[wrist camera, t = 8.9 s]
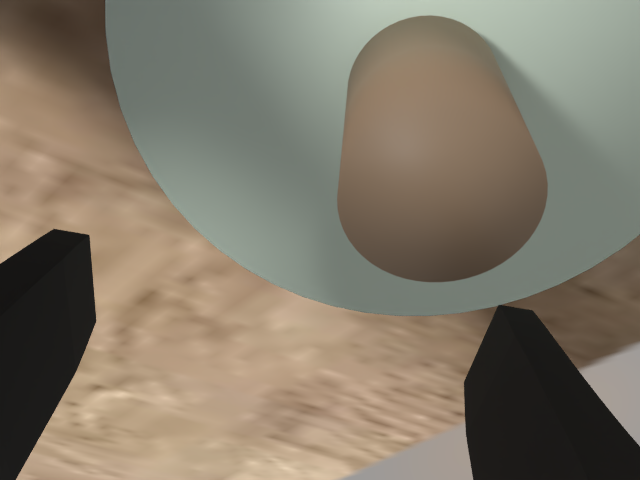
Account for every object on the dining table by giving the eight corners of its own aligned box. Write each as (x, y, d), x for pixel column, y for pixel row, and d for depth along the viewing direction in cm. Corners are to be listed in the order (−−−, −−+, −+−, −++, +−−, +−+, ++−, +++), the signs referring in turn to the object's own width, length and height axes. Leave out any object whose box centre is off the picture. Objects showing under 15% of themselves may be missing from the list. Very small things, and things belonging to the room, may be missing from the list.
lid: (164, 285, 19) (94, 448, 14) (47, -343, 10) (-218, -457, 6) (635, 309, 18) (728, 491, 13) (908, -349, 10) (1409, -487, 5)
